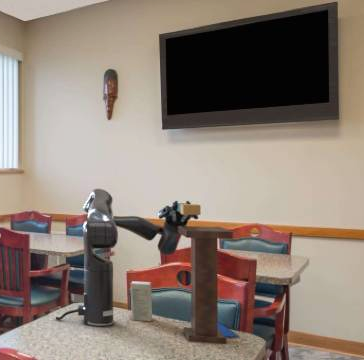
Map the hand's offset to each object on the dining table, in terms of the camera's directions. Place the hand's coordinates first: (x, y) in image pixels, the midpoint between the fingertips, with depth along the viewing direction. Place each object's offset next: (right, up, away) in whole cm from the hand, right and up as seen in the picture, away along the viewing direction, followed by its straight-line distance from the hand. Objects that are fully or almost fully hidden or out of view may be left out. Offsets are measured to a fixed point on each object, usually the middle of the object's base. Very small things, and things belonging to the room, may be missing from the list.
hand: (182, 203), depth 167 cm
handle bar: (-1, -3, -5) cm, 6 cm away
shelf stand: (-3, -38, -23) cm, 45 cm away
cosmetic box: (-15, -39, -4) cm, 42 cm away
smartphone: (+4, -39, -15) cm, 42 cm away
